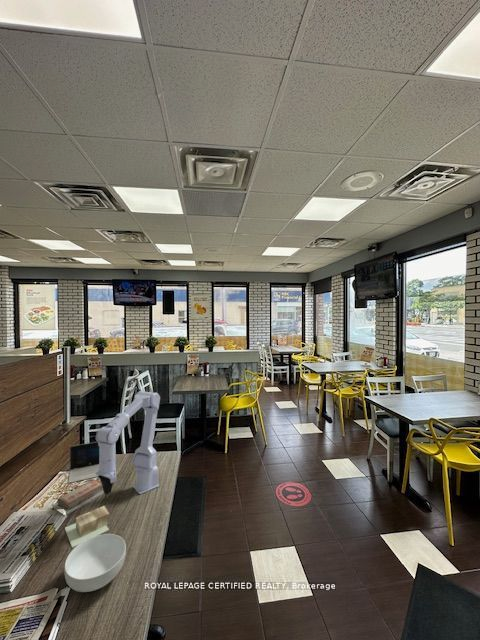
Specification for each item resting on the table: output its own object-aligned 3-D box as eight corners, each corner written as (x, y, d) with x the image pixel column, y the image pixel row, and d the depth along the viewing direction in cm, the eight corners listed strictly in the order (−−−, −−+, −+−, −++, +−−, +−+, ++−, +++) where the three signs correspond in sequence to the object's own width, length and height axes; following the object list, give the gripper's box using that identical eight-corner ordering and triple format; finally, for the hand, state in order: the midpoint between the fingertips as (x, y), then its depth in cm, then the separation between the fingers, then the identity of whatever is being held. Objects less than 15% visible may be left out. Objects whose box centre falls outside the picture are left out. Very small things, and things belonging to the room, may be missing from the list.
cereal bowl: (122, 595, 80) (122, 570, 80) (55, 612, 75) (55, 586, 75) (128, 548, 96) (128, 528, 96) (73, 560, 92) (73, 538, 92)
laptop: (68, 484, 134) (68, 456, 134) (70, 471, 145) (70, 446, 145) (109, 474, 142) (109, 449, 142) (108, 463, 153) (108, 439, 153)
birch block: (104, 505, 112) (75, 517, 105) (109, 513, 107) (80, 526, 101) (104, 515, 112) (75, 528, 105) (109, 523, 107) (80, 537, 101)
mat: (99, 513, 113) (99, 512, 113) (109, 530, 105) (109, 529, 105) (64, 528, 105) (64, 527, 105) (72, 548, 96) (72, 547, 96)
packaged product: (92, 476, 132) (106, 482, 127) (92, 486, 132) (106, 493, 127) (51, 497, 117) (64, 505, 112) (51, 509, 117) (64, 517, 112)
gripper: (91, 454, 113) (90, 488, 113) (102, 469, 102) (102, 506, 102) (109, 449, 118) (109, 481, 118) (122, 462, 107) (122, 498, 107)
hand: (107, 492), depth 110 cm, fingers closed
